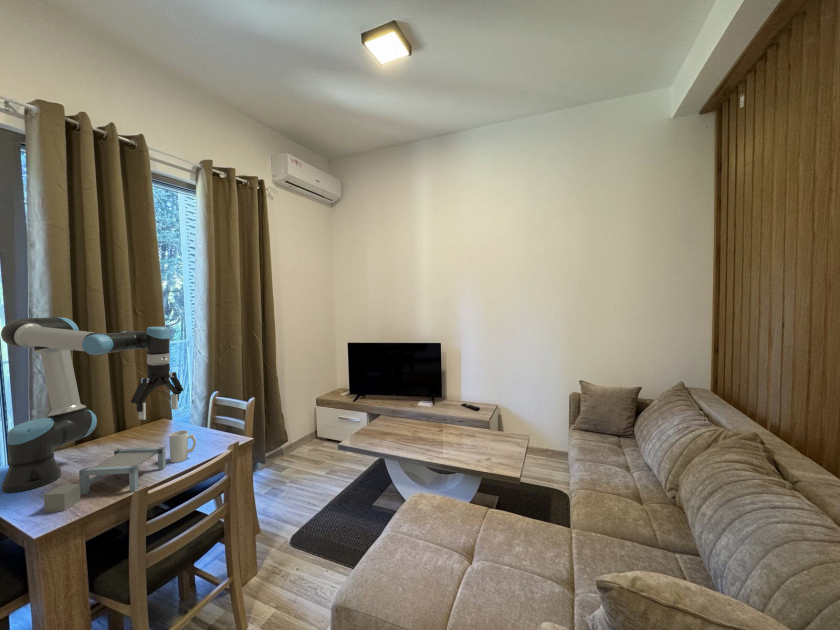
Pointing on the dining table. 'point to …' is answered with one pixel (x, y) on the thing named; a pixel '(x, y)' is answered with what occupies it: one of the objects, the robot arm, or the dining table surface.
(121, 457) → the trapdoor
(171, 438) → the mug
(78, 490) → the stone
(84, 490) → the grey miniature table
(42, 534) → the dining table surface
